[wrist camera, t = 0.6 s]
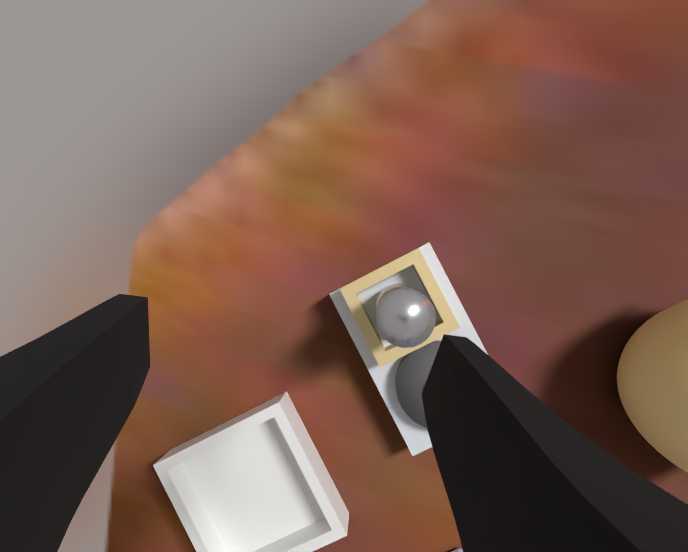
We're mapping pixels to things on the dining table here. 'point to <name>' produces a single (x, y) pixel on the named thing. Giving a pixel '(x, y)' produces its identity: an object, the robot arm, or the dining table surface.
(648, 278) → the dining table surface
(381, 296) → the lock pin
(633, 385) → the sculpture
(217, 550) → the tray
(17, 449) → the robot arm
